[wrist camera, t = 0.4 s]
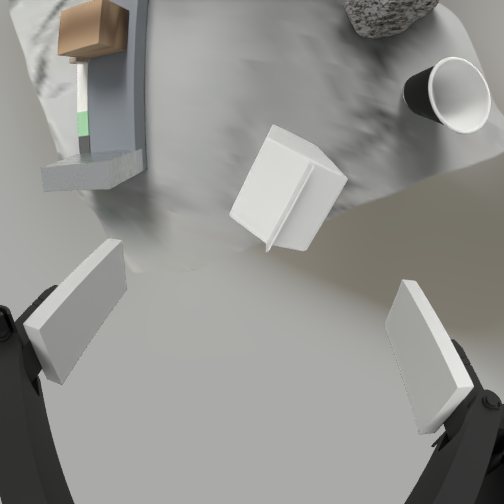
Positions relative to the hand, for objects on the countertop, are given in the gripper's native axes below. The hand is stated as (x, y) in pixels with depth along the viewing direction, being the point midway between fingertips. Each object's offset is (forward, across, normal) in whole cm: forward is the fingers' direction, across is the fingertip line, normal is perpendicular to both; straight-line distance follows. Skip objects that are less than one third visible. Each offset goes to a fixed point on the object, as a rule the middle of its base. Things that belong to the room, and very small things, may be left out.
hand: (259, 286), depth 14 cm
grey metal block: (+26, -22, -1) cm, 34 cm away
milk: (+27, +1, +2) cm, 27 cm away
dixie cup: (+27, +17, +13) cm, 35 cm away
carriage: (+26, -24, +17) cm, 39 cm away
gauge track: (+27, -23, +11) cm, 37 cm away
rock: (+28, +12, +25) cm, 39 cm away
